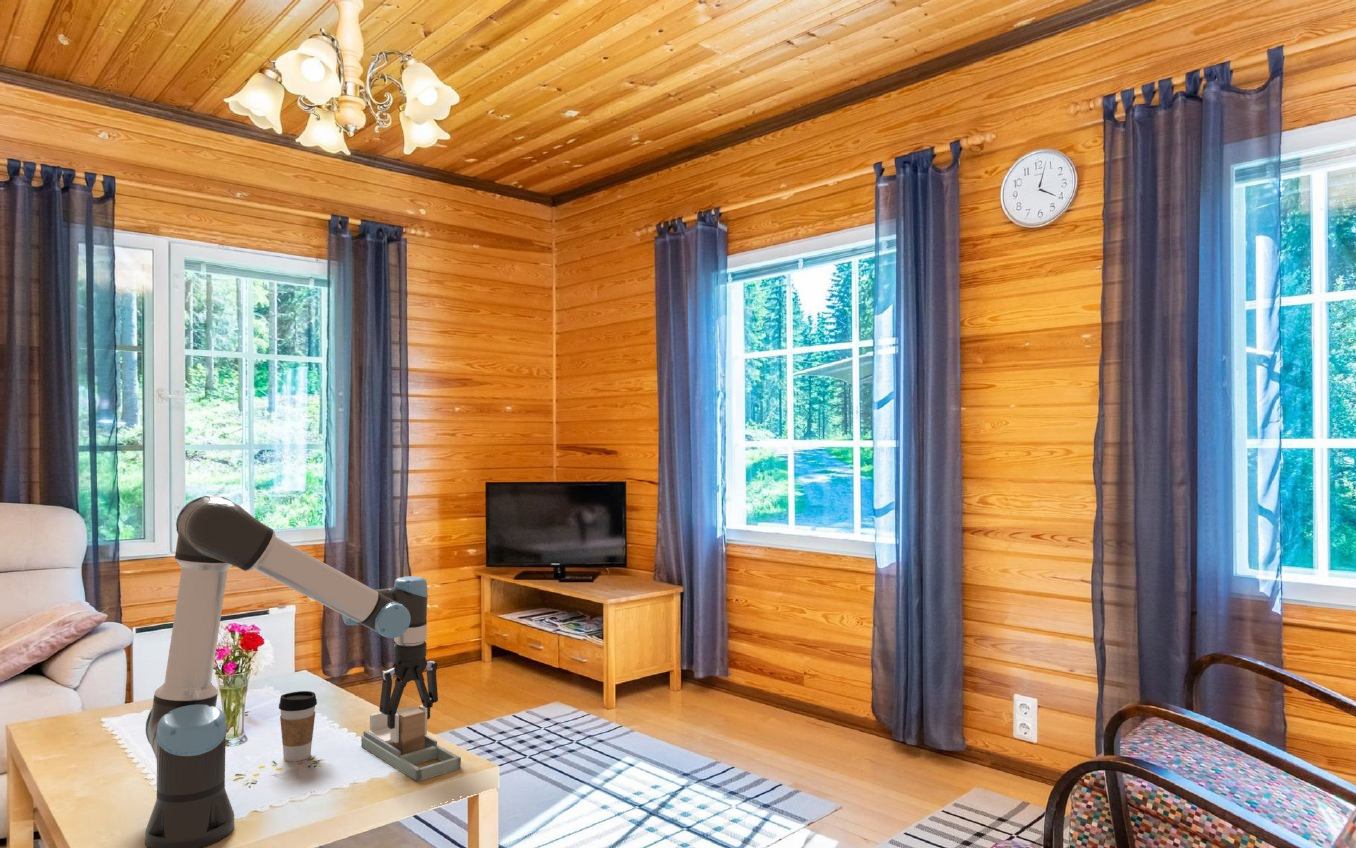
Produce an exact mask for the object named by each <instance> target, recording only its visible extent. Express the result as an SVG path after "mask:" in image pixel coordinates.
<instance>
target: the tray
mask: <svg viewBox="0 0 1356 848" xmlns="http://www.w3.org/2000/svg"><path fill="white" fill-rule="evenodd" d="M368 731H369V730H363V732H362V733H363V736H361V740H360V741H361V744H360V745H361V746H360V747H362V748H363V749H364V750H366V749H367V750H366V751H367V752H369V751H370V753H371V754H373V755H374V756H376V757H378V758H379V759H380V760H382V761H383V762H385V763H387V764H389V765H390V766H392V767H394V768H395V769H397V770H398V771H400V772H401V773H403V774H404V775H406V776H408V777H409V778H411V779H412V780H414V781H415V782H420V781H424V779H425V780H428V779H430V778H433V777H436V776H440V775H444V774H446V773H450V772H453V771H457V770H460V769H462V767H461V765H462V764H461V763H462V760H461V759H462V757H460V756H458V755H457V754H456V753H453V752H451V751H449V750H448V749H446V748H444V747H442V746H440V745H439V744H438V740H436V739H434V738H433V737H430V736H429V735H428V734H427V735H425V749H422V750H418V751H415V752H411V753H408V754H404V755H401V751H399V750H398V749H396V748H394V747H393V746H392V743H389V744H388V743H386V742H384V741H383V740H381V739H379V738H378V737H376V736H374V735H373V734H371V733H369V732H368ZM435 759H438V760H440V761H438V762H435V763H432V764H429V765H425V766H422V767H418V765H419V764H422V763H426V762H428V761H432V760H435ZM416 765H417V766H416Z"/></svg>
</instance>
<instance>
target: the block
mask: <svg viewBox="0 0 1356 848" xmlns="http://www.w3.org/2000/svg"><path fill="white" fill-rule="evenodd" d="M396 714H398V715H399V742H398V743H395V742H393V741H392V746H393V747H394V748H396V749H398V750H399V751H401V755H404V754H408V753H411V752H415V751H418V750H422V749H425V711H423V710H421V709H419V707H417V706H416V705H412V706H408V707H405V708H400V709H399V708H398V710H397V712H396Z"/></svg>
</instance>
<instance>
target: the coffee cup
mask: <svg viewBox="0 0 1356 848" xmlns="http://www.w3.org/2000/svg"><path fill="white" fill-rule="evenodd" d="M317 705H318V700H317V697H316V693H315V692H313V691H310V690H309V691H308V690H302V691H301V690H300V691H294V692H287V693H284V694H281V695H280V699H279V704H278V709H279V710H280V716H279V720H280V730H281V742H282V753H283V760H284V761H287V762H300V761H304V760H306V759H309V758H310V757H311V755H312V745H313V744H312V743H313V737H314V728H315V727H314V726H315V717H316V711H315V709H316V706H317Z"/></svg>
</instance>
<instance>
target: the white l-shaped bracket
mask: <svg viewBox="0 0 1356 848" xmlns="http://www.w3.org/2000/svg"><path fill="white" fill-rule="evenodd" d="M397 710H399V708H398V709H397ZM367 731H368V732H369V733H371V734H373V735H374V736H376V737H378V738H379V739H381V740H383V741H384V742H386V743H388V744H389V743H392V741H391V740H390V728H388V726H387V715H385V714H383V713H381V712H380V711H379V712H375V713H371V714H370V715H369V730H367Z"/></svg>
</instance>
